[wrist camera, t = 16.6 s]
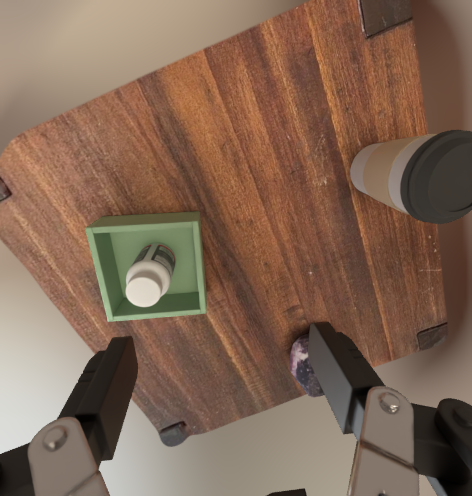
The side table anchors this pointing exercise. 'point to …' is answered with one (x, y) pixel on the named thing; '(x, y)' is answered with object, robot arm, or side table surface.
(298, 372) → the mineral specimen
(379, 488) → the robot arm
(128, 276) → the pill bottle
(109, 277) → the bin
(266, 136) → the side table surface
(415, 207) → the coffee cup
